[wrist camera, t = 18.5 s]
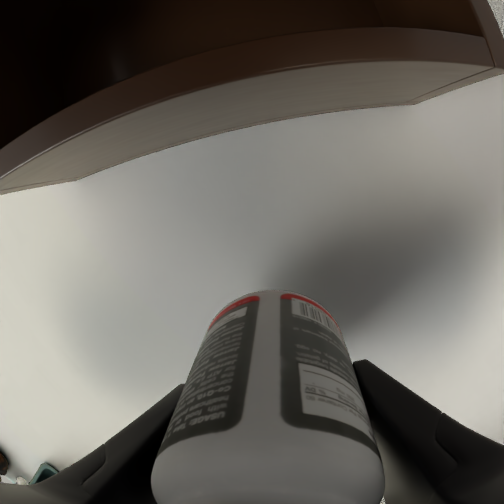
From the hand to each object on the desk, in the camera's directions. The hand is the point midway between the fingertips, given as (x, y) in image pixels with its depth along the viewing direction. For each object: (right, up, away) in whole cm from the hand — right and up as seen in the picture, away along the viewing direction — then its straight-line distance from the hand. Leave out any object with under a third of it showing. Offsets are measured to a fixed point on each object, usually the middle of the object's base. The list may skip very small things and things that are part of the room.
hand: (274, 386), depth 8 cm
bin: (-2, +13, 0) cm, 14 cm away
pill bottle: (0, +1, +2) cm, 2 cm away
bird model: (-36, -23, +12) cm, 44 cm away
